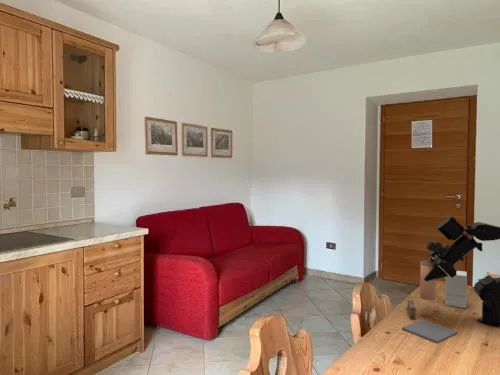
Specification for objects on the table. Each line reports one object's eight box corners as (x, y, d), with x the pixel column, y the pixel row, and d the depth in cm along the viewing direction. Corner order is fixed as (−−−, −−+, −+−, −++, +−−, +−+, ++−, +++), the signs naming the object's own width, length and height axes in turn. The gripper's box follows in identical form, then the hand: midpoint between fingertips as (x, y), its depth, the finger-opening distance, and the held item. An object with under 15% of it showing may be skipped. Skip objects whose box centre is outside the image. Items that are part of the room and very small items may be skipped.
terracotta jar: (424, 294, 136) (425, 259, 135) (438, 298, 132) (439, 262, 131) (417, 297, 133) (417, 261, 132) (431, 301, 129) (431, 264, 128)
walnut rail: (407, 307, 141) (407, 296, 140) (412, 307, 140) (412, 297, 140) (410, 318, 129) (410, 307, 129) (415, 319, 129) (415, 308, 129)
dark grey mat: (422, 321, 127) (422, 319, 127) (457, 333, 117) (457, 331, 117) (401, 329, 121) (401, 327, 121) (437, 343, 111) (437, 341, 111)
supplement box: (467, 303, 145) (467, 271, 145) (466, 308, 139) (467, 275, 139) (446, 299, 149) (446, 268, 149) (444, 305, 143) (445, 273, 142)
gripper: (436, 229, 139) (404, 256, 143) (446, 237, 121) (409, 267, 125) (459, 250, 137) (426, 277, 141) (472, 262, 119) (434, 292, 123)
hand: (423, 278), depth 132 cm, fingers closed on terracotta jar, 5 cm apart
